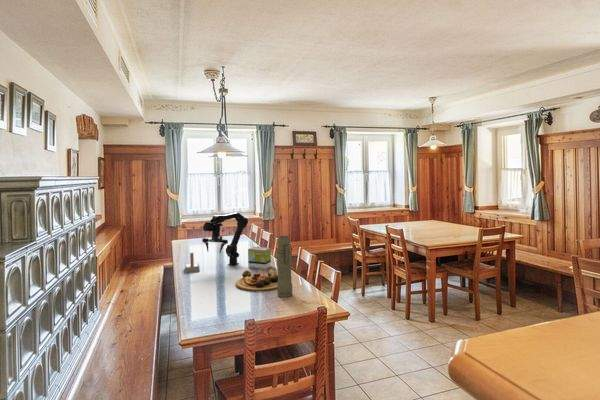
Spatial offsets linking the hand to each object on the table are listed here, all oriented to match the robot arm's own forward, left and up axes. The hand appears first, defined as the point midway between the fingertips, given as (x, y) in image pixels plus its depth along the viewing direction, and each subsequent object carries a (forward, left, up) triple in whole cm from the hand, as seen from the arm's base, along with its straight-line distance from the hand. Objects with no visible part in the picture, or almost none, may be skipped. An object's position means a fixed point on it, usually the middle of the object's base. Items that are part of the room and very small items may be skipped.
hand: (214, 252), depth 286 cm
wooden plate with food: (+23, +53, -14) cm, 59 cm away
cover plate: (+8, -14, -10) cm, 20 cm away
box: (+8, -14, -13) cm, 21 cm away
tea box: (-17, +30, -13) cm, 37 cm away
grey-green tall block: (+38, +78, -13) cm, 87 cm away
